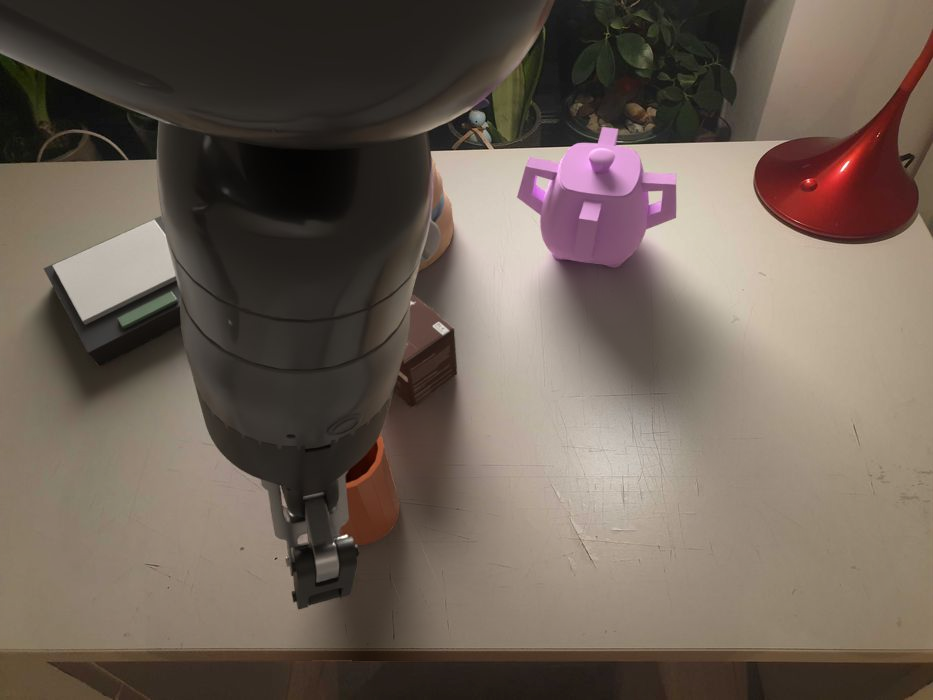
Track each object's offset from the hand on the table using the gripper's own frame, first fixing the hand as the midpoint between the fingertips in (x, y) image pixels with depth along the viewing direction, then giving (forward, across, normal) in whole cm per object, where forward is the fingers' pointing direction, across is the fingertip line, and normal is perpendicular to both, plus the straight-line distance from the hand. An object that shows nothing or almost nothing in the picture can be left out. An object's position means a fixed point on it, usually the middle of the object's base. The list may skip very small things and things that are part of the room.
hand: (297, 491), depth 38 cm
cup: (+19, -3, +6) cm, 20 cm away
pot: (+17, -28, +39) cm, 51 cm away
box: (+20, -16, +15) cm, 29 cm away
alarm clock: (+24, -35, +16) cm, 45 cm away
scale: (+30, -37, -11) cm, 49 cm away
